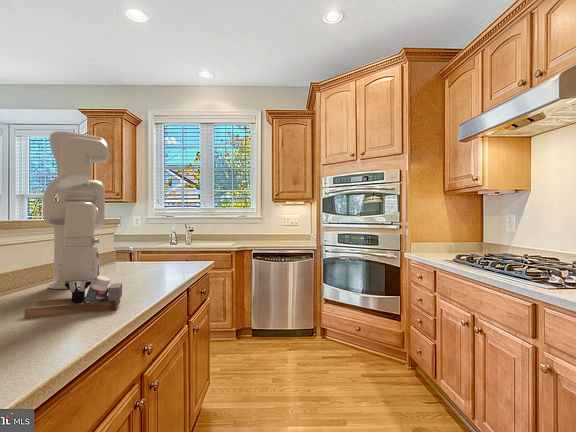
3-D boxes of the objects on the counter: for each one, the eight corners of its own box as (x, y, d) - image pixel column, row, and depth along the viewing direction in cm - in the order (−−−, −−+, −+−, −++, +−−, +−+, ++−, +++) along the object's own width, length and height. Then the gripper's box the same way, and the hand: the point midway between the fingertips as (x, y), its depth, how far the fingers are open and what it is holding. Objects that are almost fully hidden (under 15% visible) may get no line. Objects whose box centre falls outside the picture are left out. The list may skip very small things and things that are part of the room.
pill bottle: (91, 310, 92) (103, 282, 92) (78, 303, 93) (89, 275, 93) (106, 307, 97) (116, 280, 97) (93, 300, 98) (103, 274, 98)
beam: (38, 307, 94) (38, 286, 94) (122, 301, 102) (122, 281, 102) (24, 317, 85) (24, 294, 85) (118, 310, 93) (118, 288, 93)
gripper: (110, 241, 99) (109, 299, 99) (54, 242, 94) (53, 303, 94) (104, 243, 92) (103, 305, 92) (44, 244, 87) (43, 309, 87)
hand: (78, 304), depth 93 cm, fingers closed
